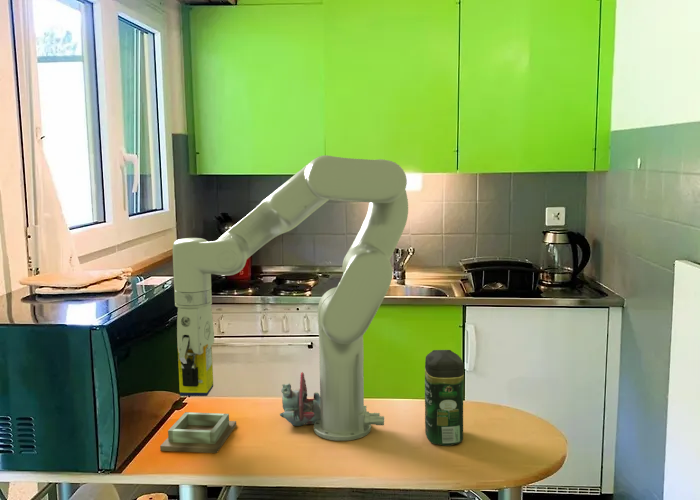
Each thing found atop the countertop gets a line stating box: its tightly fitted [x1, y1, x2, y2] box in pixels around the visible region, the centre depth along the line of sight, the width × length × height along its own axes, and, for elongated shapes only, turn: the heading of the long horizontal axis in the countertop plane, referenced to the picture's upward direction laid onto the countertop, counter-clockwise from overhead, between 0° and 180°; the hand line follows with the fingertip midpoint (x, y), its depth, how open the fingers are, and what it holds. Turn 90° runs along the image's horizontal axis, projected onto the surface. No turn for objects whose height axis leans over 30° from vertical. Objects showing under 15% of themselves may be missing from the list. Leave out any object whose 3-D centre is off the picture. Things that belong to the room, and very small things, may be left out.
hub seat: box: [159, 411, 237, 454], centre depth 147 cm, size 12×14×4 cm
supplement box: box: [176, 344, 214, 397], centre depth 145 cm, size 6×6×11 cm
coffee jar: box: [424, 349, 465, 447], centre depth 144 cm, size 10×8×19 cm
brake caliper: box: [279, 371, 321, 427], centre depth 155 cm, size 11×11×12 cm
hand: (196, 379), depth 145 cm, fingers closed on supplement box, 6 cm apart
